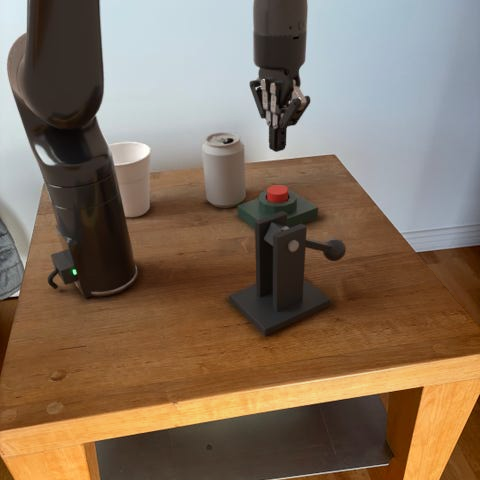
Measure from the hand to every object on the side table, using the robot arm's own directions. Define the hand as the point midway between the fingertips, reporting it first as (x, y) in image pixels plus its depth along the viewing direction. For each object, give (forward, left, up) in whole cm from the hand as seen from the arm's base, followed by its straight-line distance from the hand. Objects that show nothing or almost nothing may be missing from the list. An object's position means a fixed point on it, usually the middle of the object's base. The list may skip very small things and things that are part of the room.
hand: (277, 149), depth 81 cm
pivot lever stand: (-14, -20, -12) cm, 27 cm away
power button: (0, 0, -9) cm, 9 cm away
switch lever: (-10, -20, -6) cm, 23 cm away
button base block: (0, 0, -12) cm, 12 cm away
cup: (-20, +18, -13) cm, 30 cm away
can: (-4, +11, -13) cm, 17 cm away
